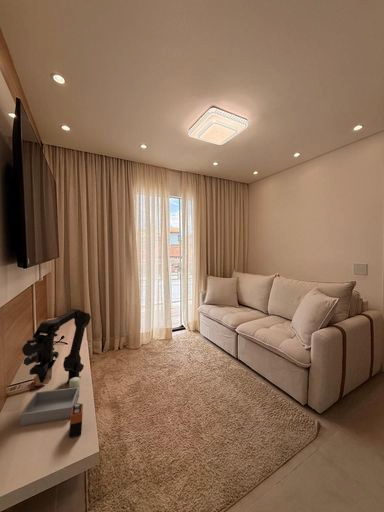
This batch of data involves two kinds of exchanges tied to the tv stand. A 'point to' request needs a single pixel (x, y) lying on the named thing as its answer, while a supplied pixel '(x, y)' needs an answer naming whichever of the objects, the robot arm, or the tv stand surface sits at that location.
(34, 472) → the tv stand surface
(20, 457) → the tv stand surface
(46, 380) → the walnut cube
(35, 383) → the kendama
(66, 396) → the tote
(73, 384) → the sage capsule
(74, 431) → the battery
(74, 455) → the tv stand surface
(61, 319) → the robot arm
